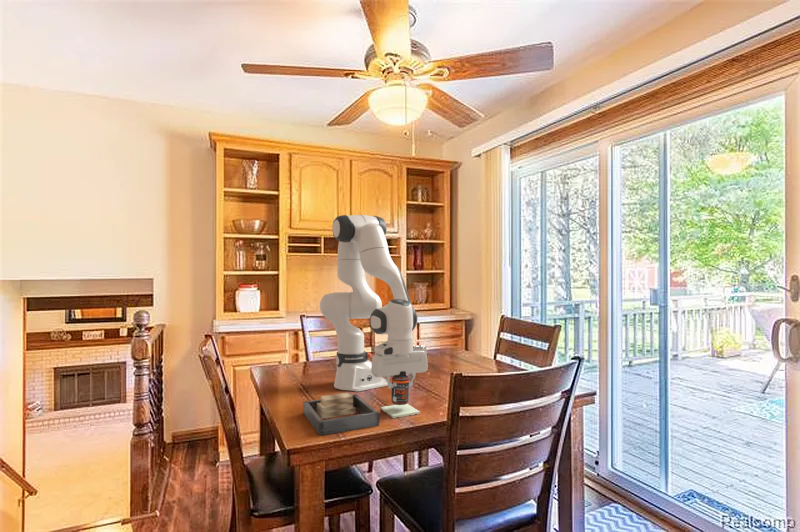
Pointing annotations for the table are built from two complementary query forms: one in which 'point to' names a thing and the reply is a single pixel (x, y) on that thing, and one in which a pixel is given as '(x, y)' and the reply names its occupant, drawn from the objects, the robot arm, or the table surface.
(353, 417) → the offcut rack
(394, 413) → the mat
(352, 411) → the offcut stack
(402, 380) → the supplement bottle
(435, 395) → the table surface
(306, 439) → the table surface
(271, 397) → the table surface
